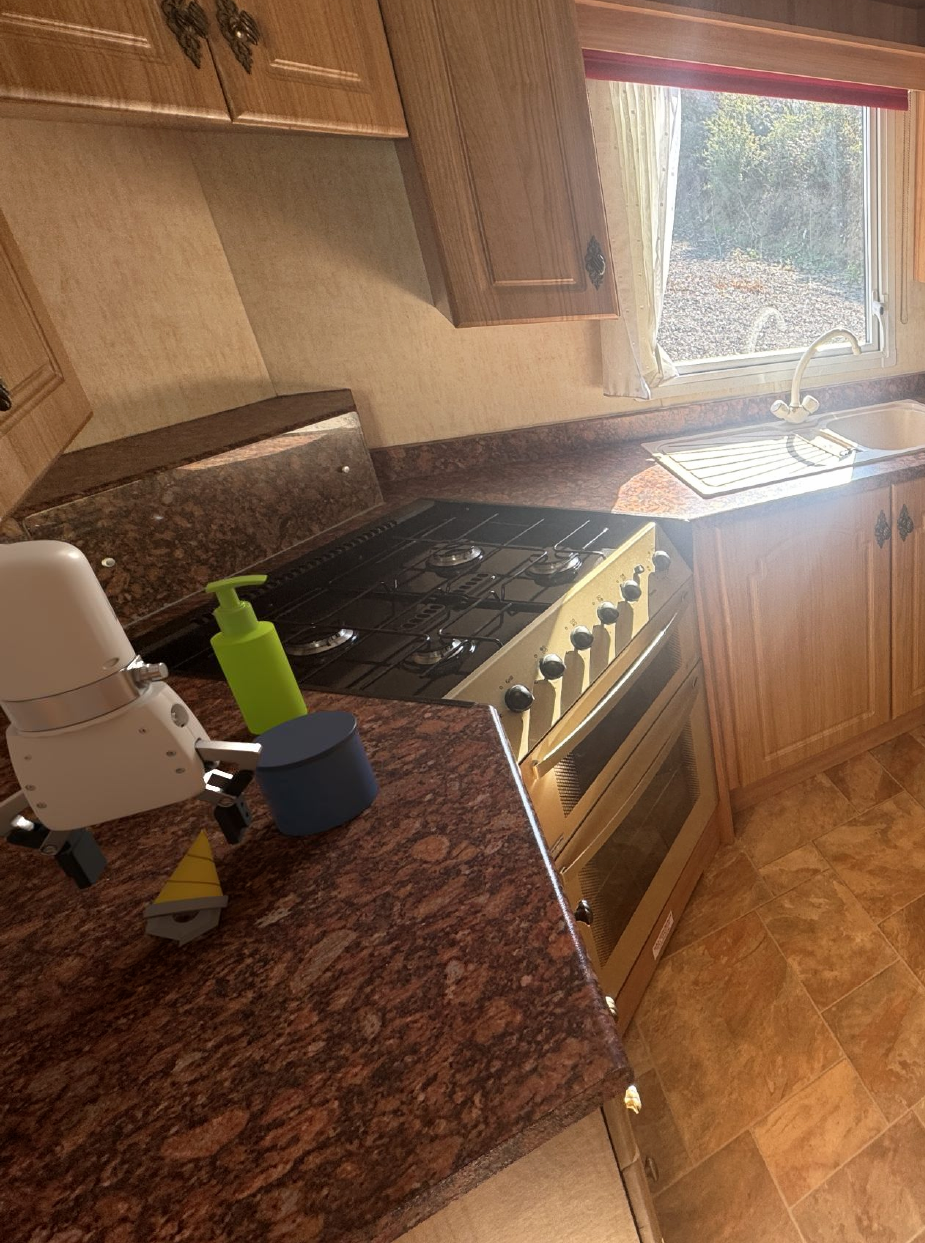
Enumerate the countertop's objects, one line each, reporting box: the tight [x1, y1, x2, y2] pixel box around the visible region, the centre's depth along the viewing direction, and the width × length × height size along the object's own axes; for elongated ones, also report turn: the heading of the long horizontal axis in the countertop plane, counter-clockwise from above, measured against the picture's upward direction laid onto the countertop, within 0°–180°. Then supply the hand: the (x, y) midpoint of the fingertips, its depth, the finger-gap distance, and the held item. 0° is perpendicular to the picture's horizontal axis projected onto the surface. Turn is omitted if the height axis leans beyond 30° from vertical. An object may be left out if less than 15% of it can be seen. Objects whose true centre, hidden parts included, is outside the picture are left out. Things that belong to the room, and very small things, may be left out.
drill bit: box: [142, 828, 229, 948], centre depth 67 cm, size 5×5×10 cm
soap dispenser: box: [204, 574, 309, 735], centre depth 92 cm, size 6×7×20 cm
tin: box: [250, 710, 380, 837], centre depth 80 cm, size 9×9×9 cm
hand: (169, 854), depth 65 cm, fingers open, 9 cm apart
